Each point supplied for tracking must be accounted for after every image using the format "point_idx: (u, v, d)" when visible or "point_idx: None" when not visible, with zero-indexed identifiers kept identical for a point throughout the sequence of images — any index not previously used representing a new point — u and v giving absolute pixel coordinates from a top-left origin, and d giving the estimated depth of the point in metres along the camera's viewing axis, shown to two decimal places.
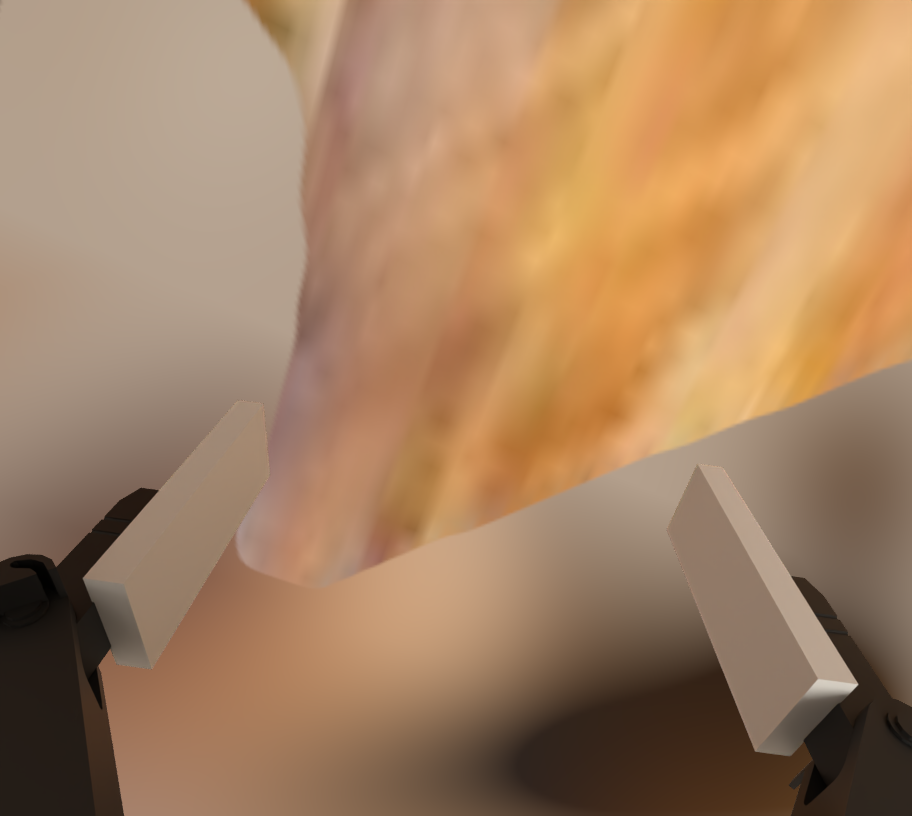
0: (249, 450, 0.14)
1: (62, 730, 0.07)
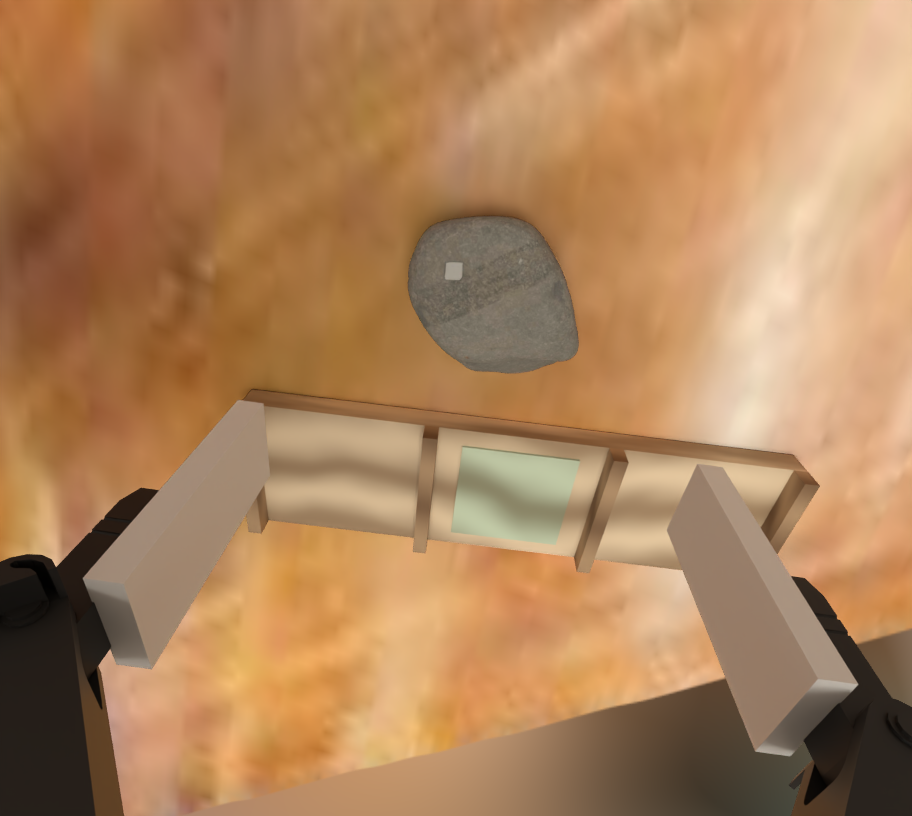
0: (249, 450, 0.14)
1: (62, 730, 0.07)
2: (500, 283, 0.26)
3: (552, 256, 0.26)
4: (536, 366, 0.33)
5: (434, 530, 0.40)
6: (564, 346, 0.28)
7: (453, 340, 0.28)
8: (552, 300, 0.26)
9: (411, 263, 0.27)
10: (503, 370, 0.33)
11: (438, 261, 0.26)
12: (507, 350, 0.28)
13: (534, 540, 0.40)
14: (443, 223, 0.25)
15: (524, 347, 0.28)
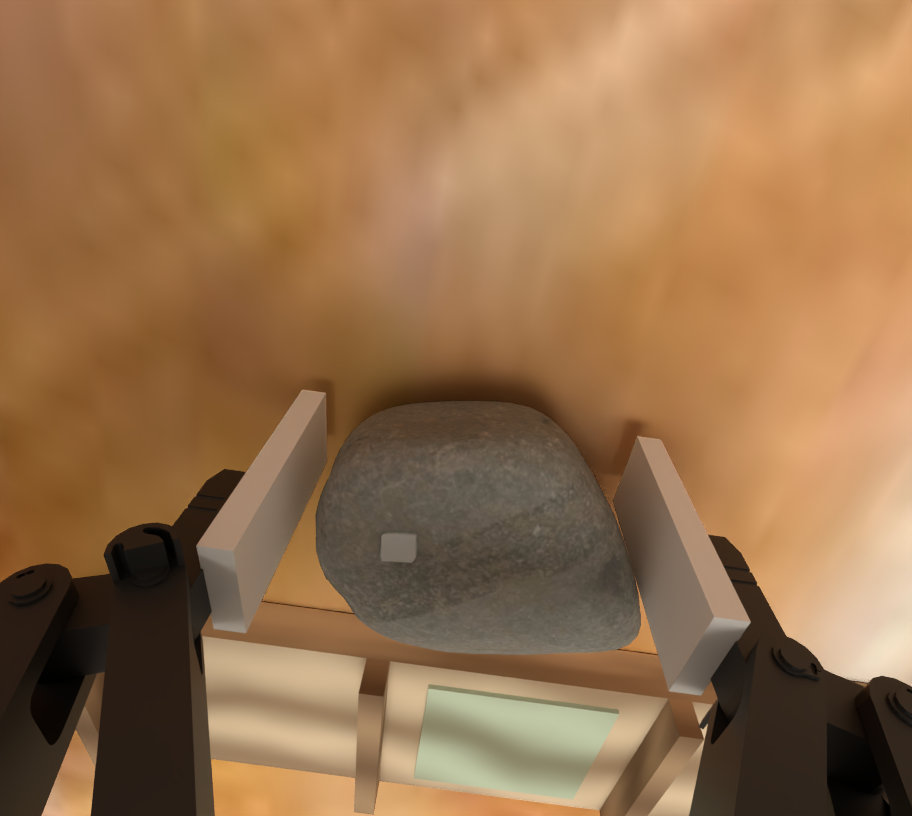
0: (315, 436, 0.15)
1: (173, 689, 0.08)
2: (495, 566, 0.13)
3: (600, 506, 0.13)
4: None
5: (389, 772, 0.27)
6: (617, 647, 0.15)
7: (405, 640, 0.15)
8: (600, 595, 0.13)
9: (317, 513, 0.13)
10: None
11: (367, 528, 0.12)
12: (508, 651, 0.15)
13: (540, 793, 0.26)
14: (377, 451, 0.12)
15: (541, 651, 0.15)
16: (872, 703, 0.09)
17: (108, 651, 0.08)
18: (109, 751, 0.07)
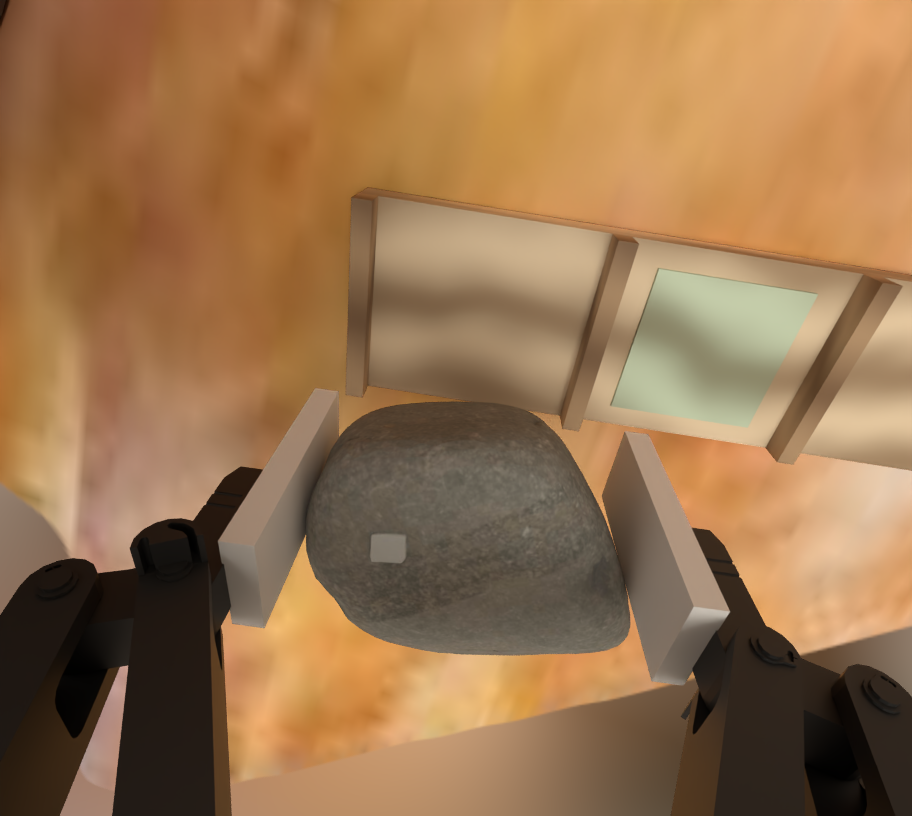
0: (328, 434, 0.15)
1: (193, 684, 0.08)
2: (484, 567, 0.13)
3: (590, 507, 0.13)
4: None
5: (588, 404, 0.31)
6: (606, 648, 0.15)
7: (395, 640, 0.15)
8: (588, 596, 0.13)
9: (308, 513, 0.13)
10: None
11: (357, 529, 0.12)
12: (498, 652, 0.15)
13: (720, 420, 0.30)
14: (368, 452, 0.12)
15: (530, 651, 0.15)
16: (847, 691, 0.09)
17: (132, 644, 0.09)
18: (132, 742, 0.07)
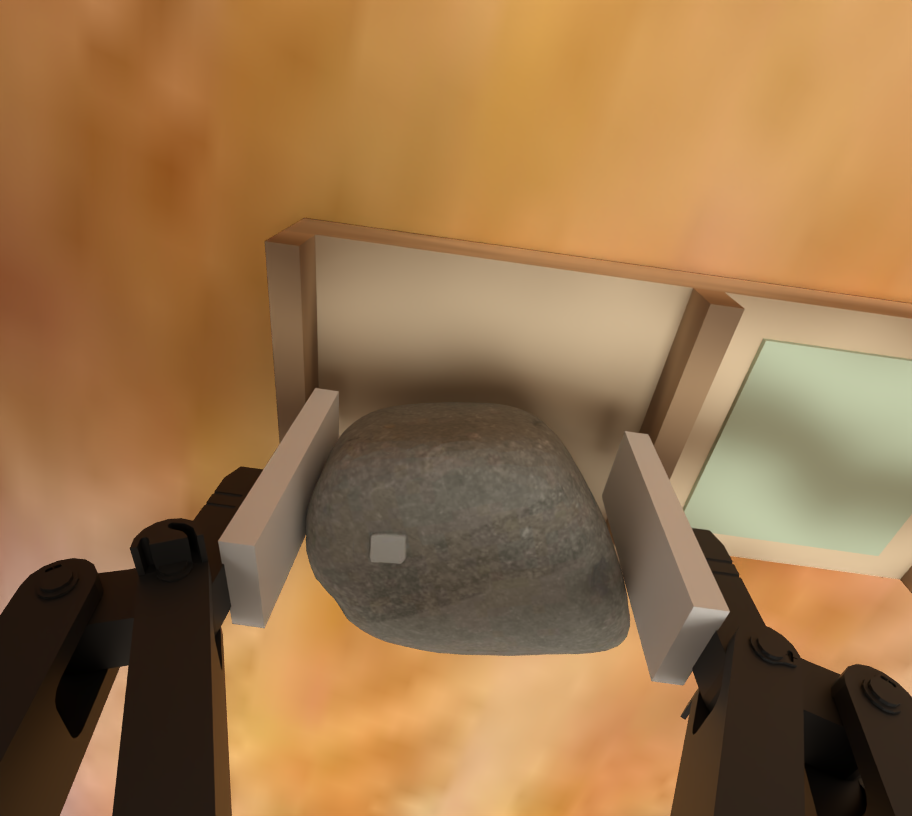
0: (328, 434, 0.15)
1: (193, 684, 0.08)
2: (484, 567, 0.13)
3: (590, 508, 0.13)
4: None
5: None
6: (605, 648, 0.15)
7: (395, 640, 0.15)
8: (588, 597, 0.13)
9: (308, 514, 0.13)
10: None
11: (357, 529, 0.12)
12: (498, 652, 0.15)
13: (839, 546, 0.21)
14: (367, 452, 0.12)
15: (530, 652, 0.15)
16: (847, 691, 0.09)
17: (132, 644, 0.09)
18: (132, 742, 0.07)
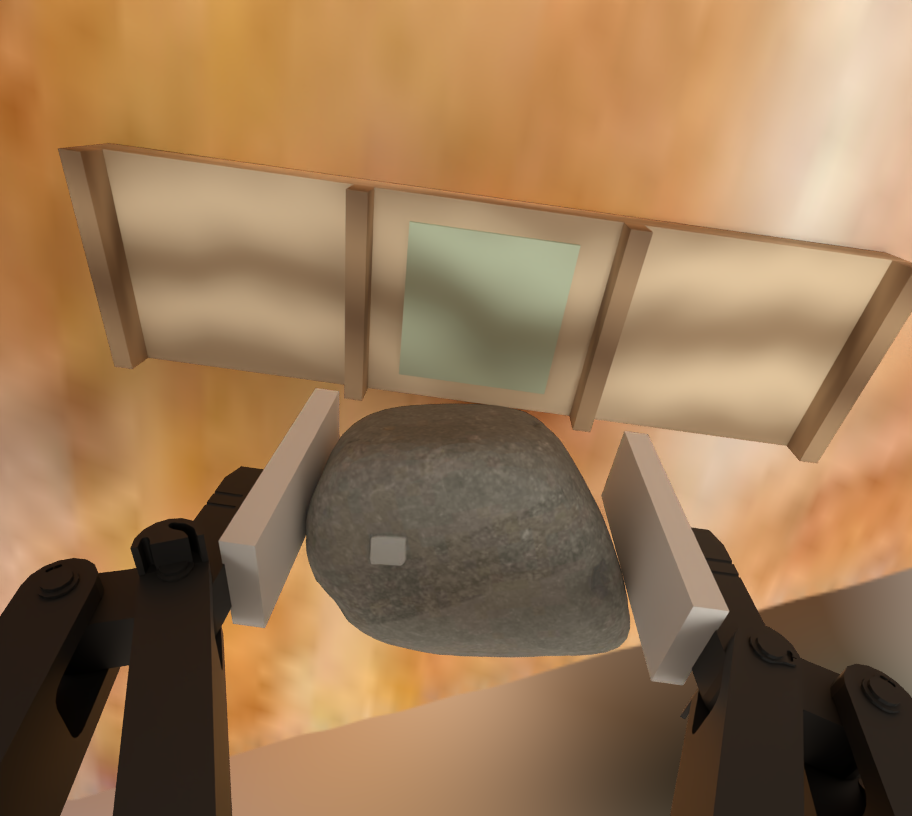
0: (328, 434, 0.15)
1: (194, 683, 0.08)
2: (484, 569, 0.13)
3: (590, 510, 0.13)
4: None
5: (376, 372, 0.29)
6: (606, 650, 0.15)
7: (395, 642, 0.15)
8: (588, 598, 0.13)
9: (308, 516, 0.13)
10: None
11: (357, 531, 0.12)
12: (498, 654, 0.15)
13: (514, 387, 0.29)
14: (367, 455, 0.12)
15: (530, 653, 0.15)
16: (847, 691, 0.09)
17: (133, 644, 0.09)
18: (132, 742, 0.07)
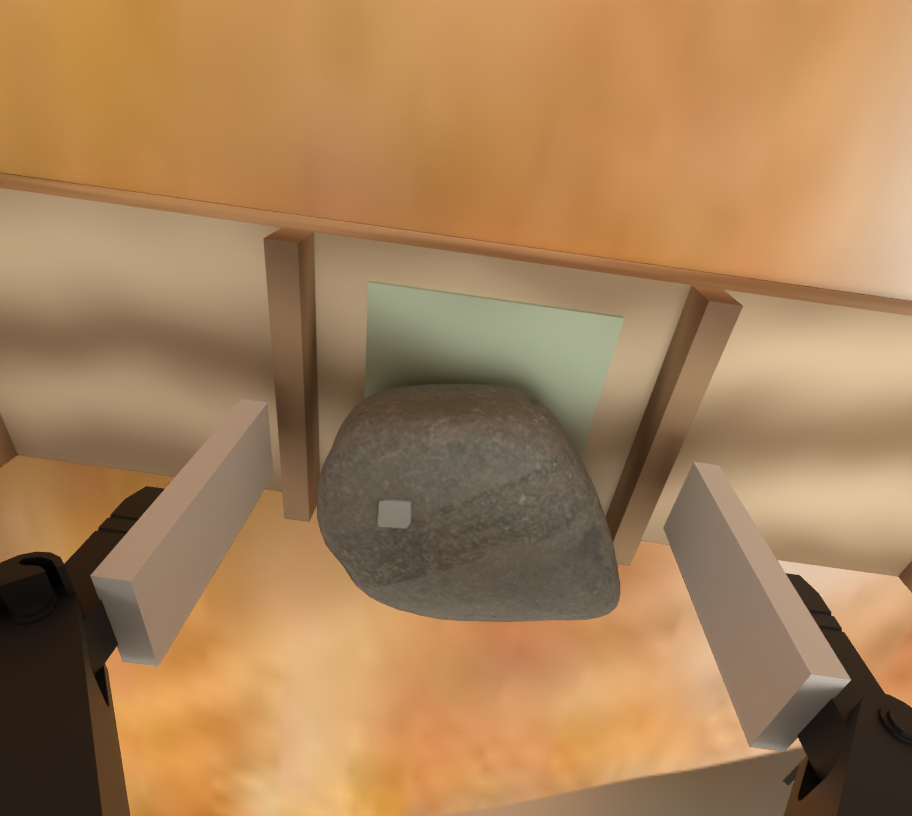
0: (253, 449, 0.14)
1: (69, 727, 0.07)
2: (483, 533, 0.14)
3: (582, 479, 0.14)
4: None
5: None
6: (597, 614, 0.16)
7: (399, 605, 0.16)
8: (580, 561, 0.14)
9: (319, 483, 0.14)
10: None
11: (366, 495, 0.13)
12: (496, 617, 0.16)
13: None
14: (376, 424, 0.13)
15: (526, 617, 0.16)
16: None
17: None
18: None
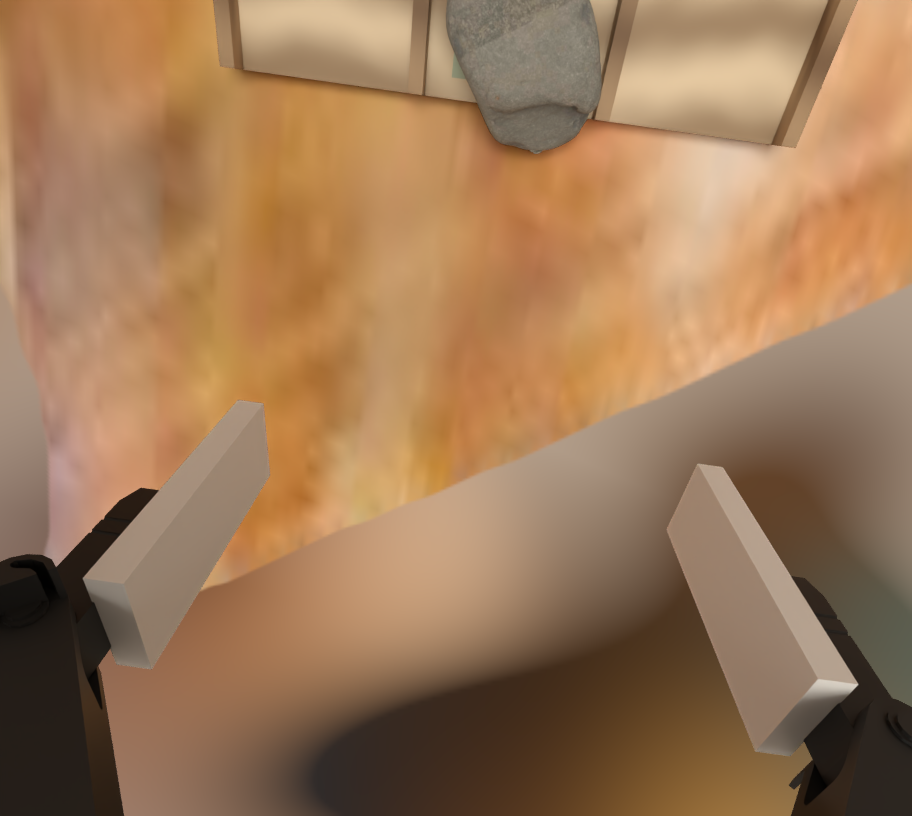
0: (249, 450, 0.14)
1: (62, 730, 0.07)
2: (533, 2, 0.28)
3: None
4: (558, 137, 0.35)
5: (432, 78, 0.35)
6: (589, 81, 0.30)
7: (486, 70, 0.30)
8: (580, 22, 0.28)
9: None
10: (527, 140, 0.35)
11: None
12: (536, 84, 0.30)
13: None
14: None
15: (552, 80, 0.30)
16: None
17: None
18: None
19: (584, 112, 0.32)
